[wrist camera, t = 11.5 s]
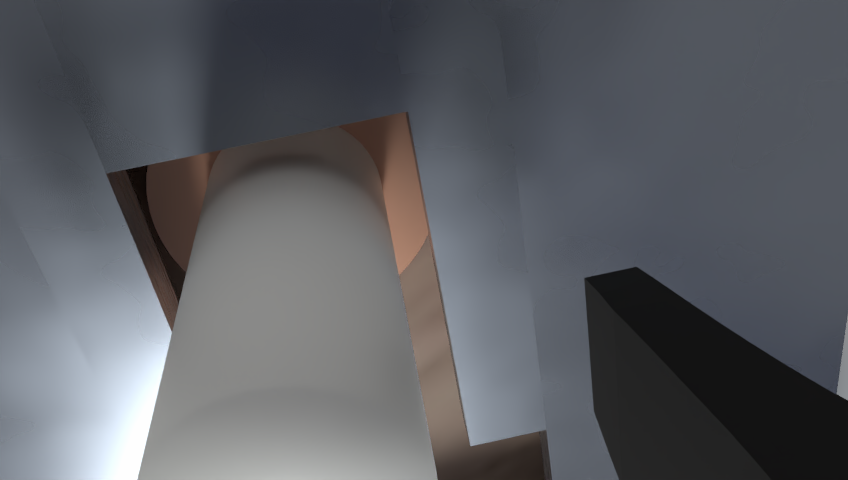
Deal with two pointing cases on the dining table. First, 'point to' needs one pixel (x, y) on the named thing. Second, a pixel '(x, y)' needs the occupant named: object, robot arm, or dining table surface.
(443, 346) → the dining table surface
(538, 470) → the dining table surface
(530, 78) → the keyhole plate
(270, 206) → the keyhole peg
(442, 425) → the dining table surface
